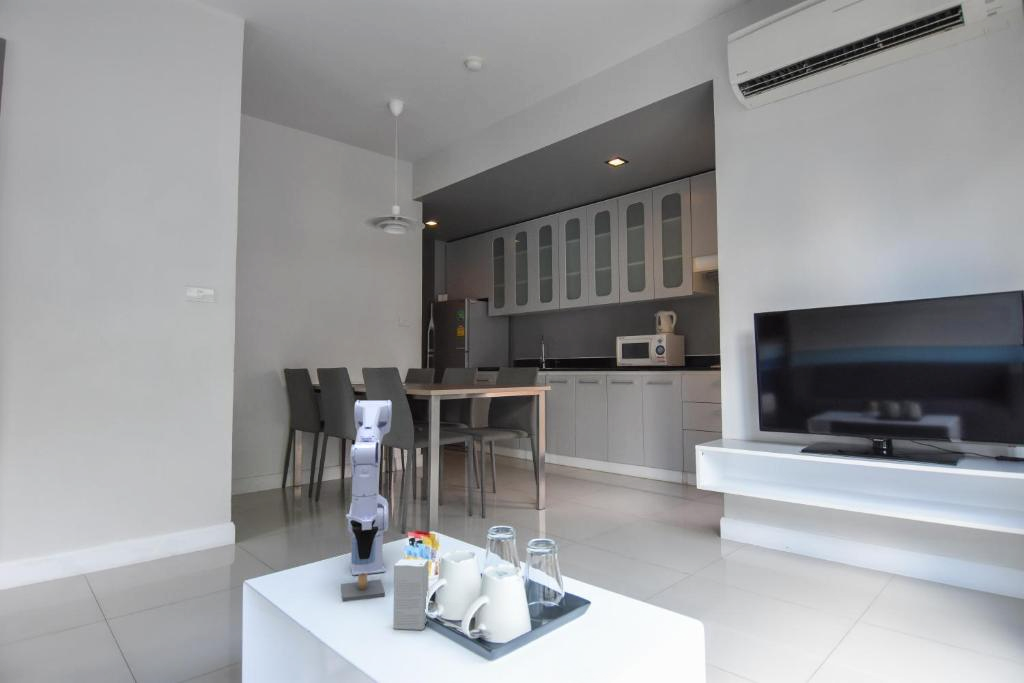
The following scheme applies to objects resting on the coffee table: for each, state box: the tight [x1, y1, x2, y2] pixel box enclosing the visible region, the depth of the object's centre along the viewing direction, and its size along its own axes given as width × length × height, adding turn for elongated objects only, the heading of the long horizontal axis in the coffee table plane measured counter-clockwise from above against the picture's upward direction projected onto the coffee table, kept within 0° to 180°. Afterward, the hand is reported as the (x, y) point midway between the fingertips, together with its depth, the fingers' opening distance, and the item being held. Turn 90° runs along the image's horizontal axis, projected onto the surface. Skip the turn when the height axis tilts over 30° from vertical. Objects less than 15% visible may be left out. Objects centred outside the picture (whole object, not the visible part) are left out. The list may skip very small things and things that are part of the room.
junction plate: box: [340, 573, 386, 602], centre depth 124 cm, size 9×9×4 cm
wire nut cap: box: [350, 537, 376, 565], centre depth 125 cm, size 5×5×5 cm
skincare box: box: [392, 558, 430, 631], centre depth 107 cm, size 6×4×12 cm
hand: (363, 555), depth 125 cm, fingers closed on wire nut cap, 5 cm apart
